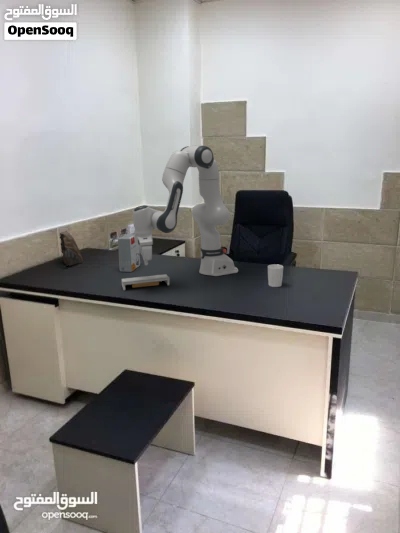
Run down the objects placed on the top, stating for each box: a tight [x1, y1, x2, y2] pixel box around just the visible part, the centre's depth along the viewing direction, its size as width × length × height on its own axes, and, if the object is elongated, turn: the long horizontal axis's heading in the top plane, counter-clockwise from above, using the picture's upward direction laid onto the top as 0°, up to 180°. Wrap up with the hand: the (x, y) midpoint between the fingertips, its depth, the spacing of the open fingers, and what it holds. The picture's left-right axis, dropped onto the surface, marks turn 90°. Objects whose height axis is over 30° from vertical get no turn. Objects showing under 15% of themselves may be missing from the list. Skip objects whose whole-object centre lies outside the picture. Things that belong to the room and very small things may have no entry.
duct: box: [121, 280, 170, 291], centre depth 221 cm, size 24×8×3 cm, turn 105°
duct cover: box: [121, 273, 170, 286], centre depth 219 cm, size 24×9×1 cm, turn 105°
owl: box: [59, 230, 84, 266], centre depth 268 cm, size 13×13×20 cm
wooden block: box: [131, 281, 160, 289], centre depth 221 cm, size 14×3×2 cm, turn 104°
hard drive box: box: [117, 233, 141, 273], centre depth 251 cm, size 16×8×20 cm, turn 168°
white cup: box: [267, 263, 284, 288], centre depth 215 cm, size 8×8×10 cm
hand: (146, 264), depth 215 cm, fingers closed
